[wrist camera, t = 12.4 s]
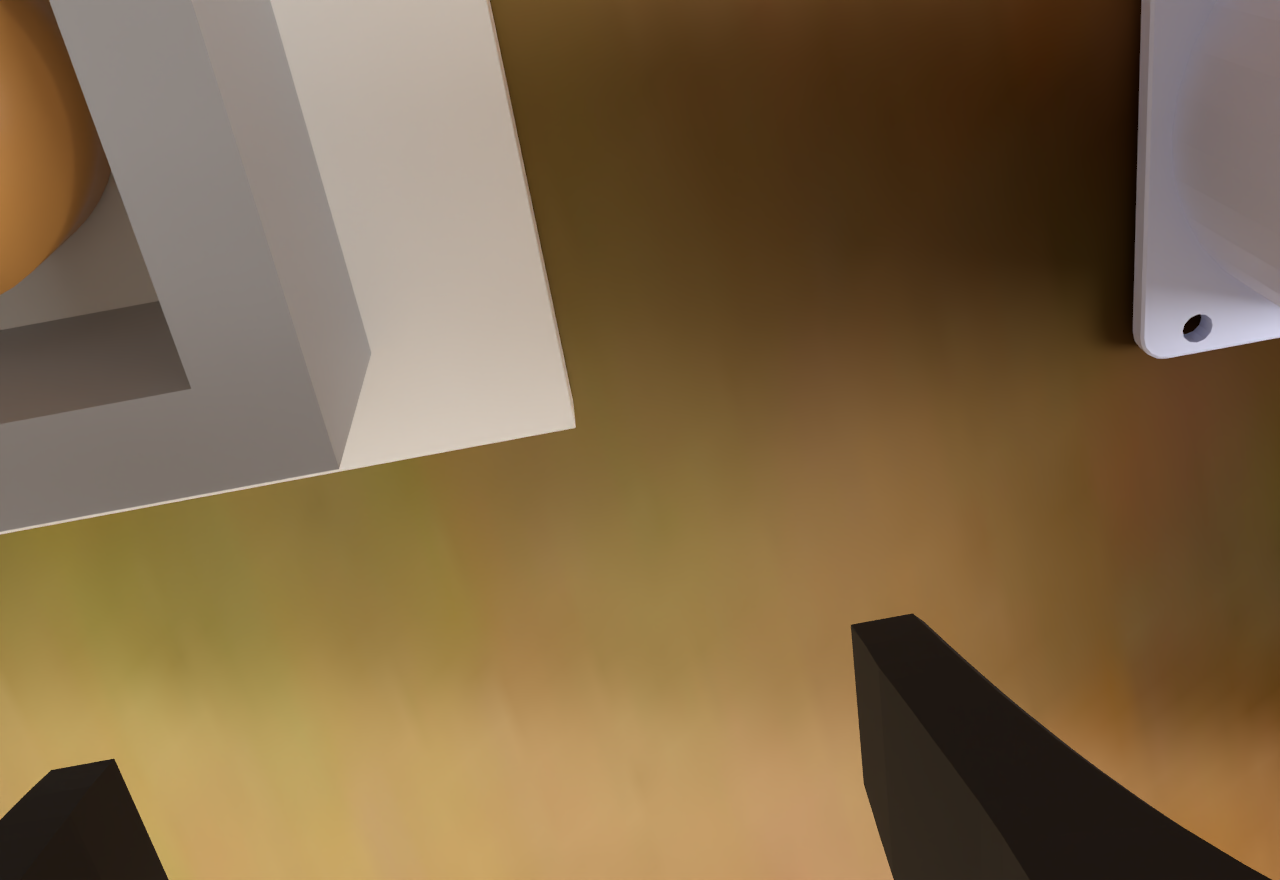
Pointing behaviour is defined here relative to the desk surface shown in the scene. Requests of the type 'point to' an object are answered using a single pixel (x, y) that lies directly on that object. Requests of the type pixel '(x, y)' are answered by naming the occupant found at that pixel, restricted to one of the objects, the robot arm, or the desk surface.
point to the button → (42, 142)
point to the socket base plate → (278, 258)
